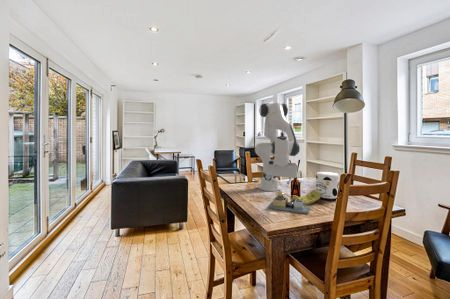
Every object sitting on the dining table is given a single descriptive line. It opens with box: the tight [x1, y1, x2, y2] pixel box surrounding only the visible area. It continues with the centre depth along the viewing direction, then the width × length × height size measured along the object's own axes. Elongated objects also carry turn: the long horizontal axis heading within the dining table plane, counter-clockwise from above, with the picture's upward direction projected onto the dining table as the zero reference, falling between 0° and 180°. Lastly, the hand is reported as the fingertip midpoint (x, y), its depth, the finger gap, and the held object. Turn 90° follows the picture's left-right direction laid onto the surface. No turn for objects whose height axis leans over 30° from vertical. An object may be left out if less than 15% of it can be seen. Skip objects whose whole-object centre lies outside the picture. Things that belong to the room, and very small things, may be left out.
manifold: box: [267, 196, 311, 215], centre depth 153 cm, size 12×24×6 cm, turn 65°
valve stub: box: [276, 191, 285, 201], centre depth 156 cm, size 4×4×8 cm
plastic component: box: [290, 189, 321, 206], centre depth 167 cm, size 20×7×10 cm
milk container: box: [313, 171, 340, 200], centre depth 178 cm, size 17×17×18 cm
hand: (280, 183), depth 155 cm, fingers open, 8 cm apart
